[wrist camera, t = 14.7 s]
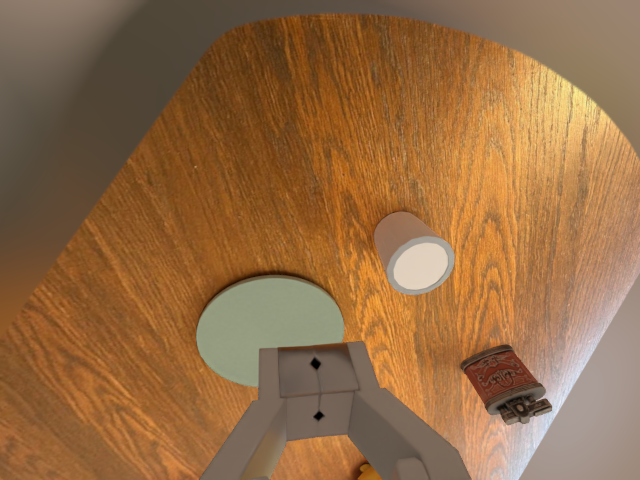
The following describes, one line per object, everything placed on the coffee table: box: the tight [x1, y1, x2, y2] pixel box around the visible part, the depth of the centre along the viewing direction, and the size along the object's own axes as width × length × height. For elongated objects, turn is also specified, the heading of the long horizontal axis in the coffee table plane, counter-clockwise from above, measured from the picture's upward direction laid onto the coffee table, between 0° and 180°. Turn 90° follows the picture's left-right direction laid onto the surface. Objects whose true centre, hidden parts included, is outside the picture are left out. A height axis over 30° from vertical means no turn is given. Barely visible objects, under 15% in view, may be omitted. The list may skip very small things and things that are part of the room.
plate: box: [196, 275, 344, 387], centre depth 44 cm, size 18×18×2 cm
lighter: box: [461, 345, 552, 425], centre depth 49 cm, size 8×3×10 cm, turn 112°
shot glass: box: [374, 211, 454, 295], centre depth 37 cm, size 7×7×7 cm
